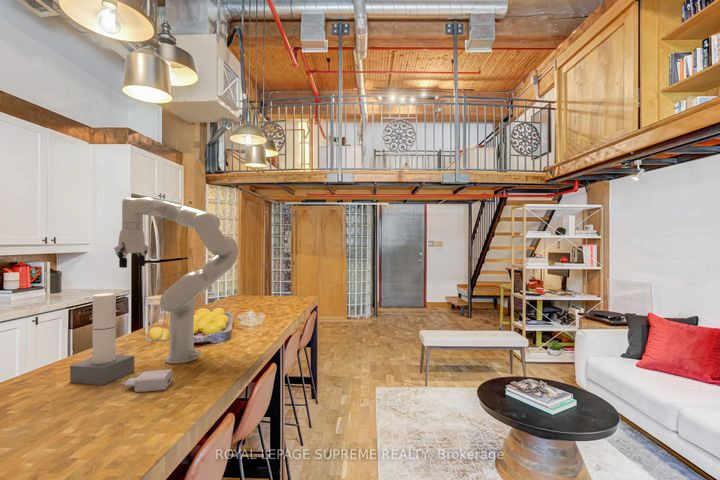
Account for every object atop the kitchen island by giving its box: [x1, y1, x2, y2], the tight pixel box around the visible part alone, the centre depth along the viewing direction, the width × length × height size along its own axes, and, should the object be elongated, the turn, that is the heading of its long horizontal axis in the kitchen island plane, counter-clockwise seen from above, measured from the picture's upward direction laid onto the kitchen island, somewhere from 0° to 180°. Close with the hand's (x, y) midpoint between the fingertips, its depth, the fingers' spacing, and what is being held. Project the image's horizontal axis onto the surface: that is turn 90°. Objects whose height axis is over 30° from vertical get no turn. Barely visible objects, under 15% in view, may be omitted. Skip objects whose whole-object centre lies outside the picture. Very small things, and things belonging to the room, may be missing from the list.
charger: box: [120, 368, 173, 393], centre depth 127 cm, size 5×9×15 cm
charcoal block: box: [69, 354, 135, 386], centre depth 137 cm, size 14×14×6 cm
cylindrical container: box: [92, 292, 117, 364], centre depth 137 cm, size 7×7×25 cm
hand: (132, 266), depth 155 cm, fingers open, 9 cm apart
